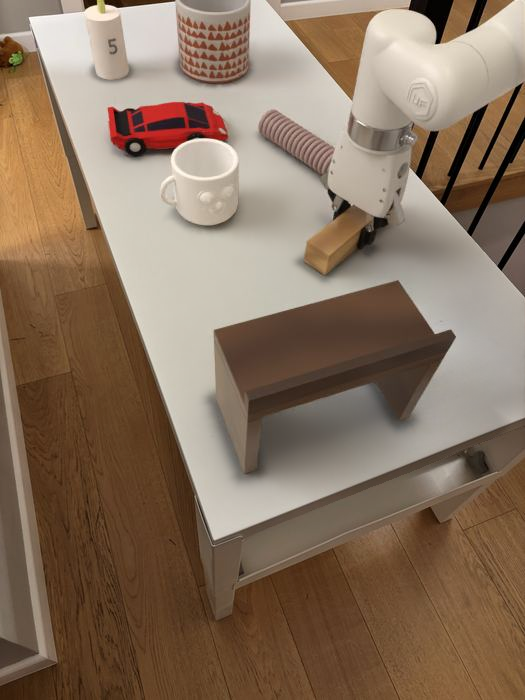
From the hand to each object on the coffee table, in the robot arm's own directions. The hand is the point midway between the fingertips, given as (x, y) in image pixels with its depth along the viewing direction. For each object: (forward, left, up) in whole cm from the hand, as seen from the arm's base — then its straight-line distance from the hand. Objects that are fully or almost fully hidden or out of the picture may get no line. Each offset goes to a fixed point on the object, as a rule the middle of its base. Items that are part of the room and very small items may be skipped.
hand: (351, 236), depth 81 cm
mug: (+20, +12, -1) cm, 24 cm away
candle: (+61, -4, -1) cm, 61 cm away
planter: (+49, -20, -1) cm, 53 cm away
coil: (+18, -10, -1) cm, 21 cm away
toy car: (+38, +2, -1) cm, 38 cm away
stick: (0, 0, 0) cm, 0 cm away
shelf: (-14, +27, 0) cm, 30 cm away
